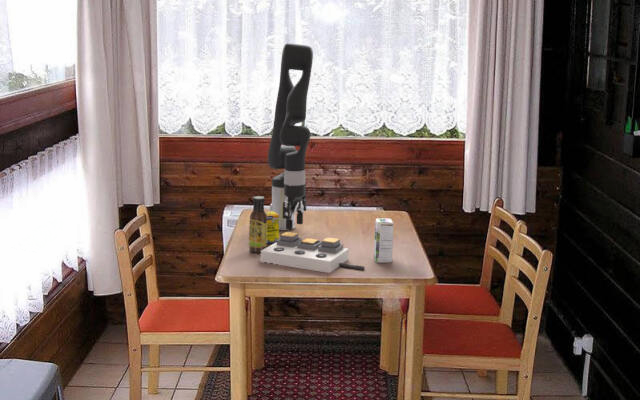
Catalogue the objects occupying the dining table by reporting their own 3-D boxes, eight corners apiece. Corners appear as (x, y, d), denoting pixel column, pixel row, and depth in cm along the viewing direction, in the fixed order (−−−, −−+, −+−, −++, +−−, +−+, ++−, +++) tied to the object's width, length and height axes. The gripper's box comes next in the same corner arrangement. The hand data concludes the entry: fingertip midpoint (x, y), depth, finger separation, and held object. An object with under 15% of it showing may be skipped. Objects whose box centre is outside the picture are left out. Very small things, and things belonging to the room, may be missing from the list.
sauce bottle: (245, 251, 285) (245, 197, 280) (255, 247, 290) (255, 194, 286) (260, 254, 282) (260, 199, 277) (270, 250, 287) (270, 196, 282)
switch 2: (300, 246, 277) (300, 241, 276) (306, 243, 281) (306, 237, 281) (313, 248, 275) (313, 243, 274) (318, 245, 279) (318, 239, 279)
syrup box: (373, 257, 280) (374, 218, 277) (389, 257, 280) (391, 217, 277) (375, 262, 274) (377, 222, 271) (392, 262, 275) (394, 222, 272)
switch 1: (280, 240, 280) (280, 234, 279) (286, 236, 284) (286, 231, 283) (292, 242, 278) (292, 236, 277) (298, 238, 282) (298, 233, 282)
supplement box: (264, 244, 294) (264, 216, 291) (258, 240, 299) (258, 212, 296) (279, 242, 296) (279, 214, 294) (272, 238, 301) (272, 210, 299)
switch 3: (321, 246, 273) (321, 240, 273) (327, 242, 278) (327, 237, 277) (334, 248, 271) (334, 242, 271) (339, 244, 276) (340, 239, 275)
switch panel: (260, 262, 273) (260, 246, 272) (281, 249, 288) (281, 234, 286) (355, 277, 259) (356, 260, 258) (373, 263, 274) (373, 247, 272)
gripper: (294, 177, 287) (293, 221, 291) (276, 185, 275) (276, 230, 279) (312, 179, 284) (312, 223, 288) (295, 187, 272) (295, 232, 276)
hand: (294, 226), depth 283 cm, fingers open, 8 cm apart
